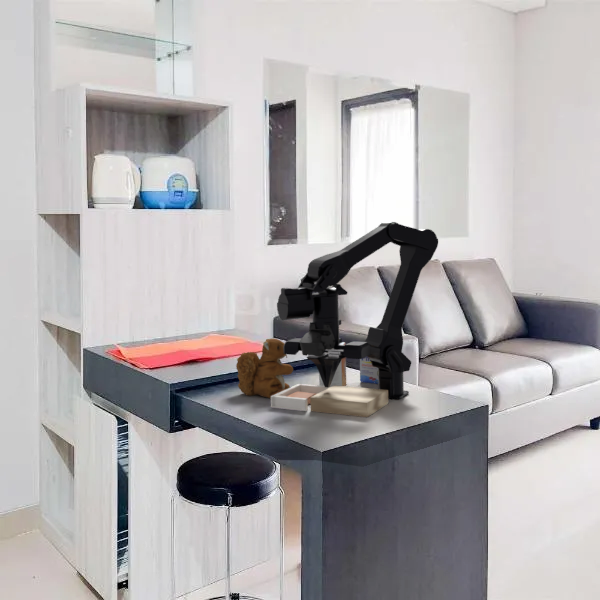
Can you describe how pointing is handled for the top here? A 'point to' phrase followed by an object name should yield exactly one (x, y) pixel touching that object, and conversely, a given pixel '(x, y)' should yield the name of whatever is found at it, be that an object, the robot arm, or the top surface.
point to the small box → (338, 373)
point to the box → (293, 402)
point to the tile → (302, 395)
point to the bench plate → (349, 400)
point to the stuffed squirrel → (263, 370)
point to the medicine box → (368, 371)
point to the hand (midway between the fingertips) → (327, 387)
